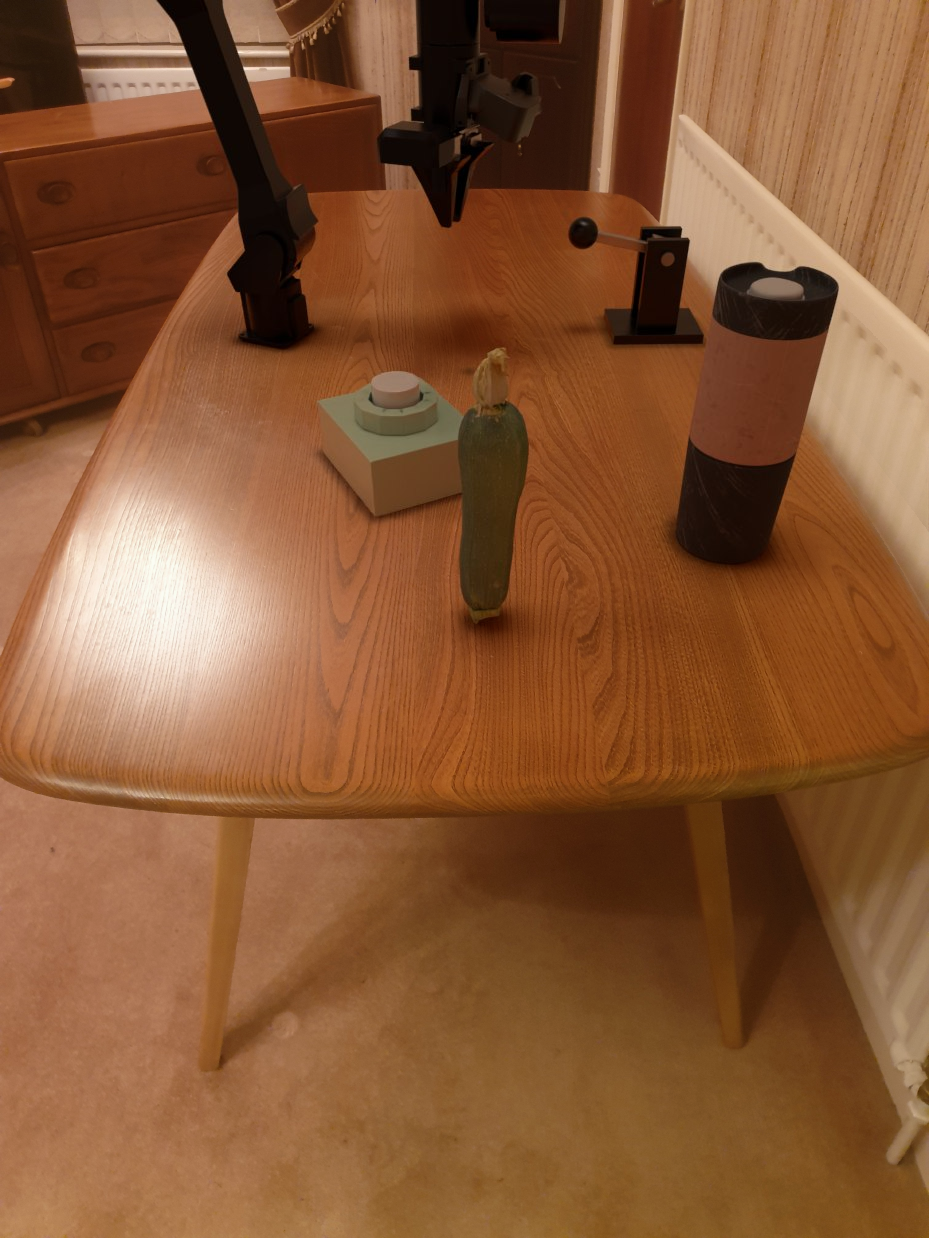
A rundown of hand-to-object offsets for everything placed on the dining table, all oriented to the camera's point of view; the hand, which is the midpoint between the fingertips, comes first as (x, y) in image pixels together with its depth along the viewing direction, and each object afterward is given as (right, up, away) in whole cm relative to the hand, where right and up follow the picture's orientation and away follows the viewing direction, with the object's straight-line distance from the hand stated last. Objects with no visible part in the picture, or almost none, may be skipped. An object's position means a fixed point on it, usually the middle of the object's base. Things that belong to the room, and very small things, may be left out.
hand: (450, 224), depth 88 cm
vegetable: (+3, -40, -27) cm, 48 cm away
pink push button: (-4, -22, -16) cm, 28 cm away
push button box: (-4, -27, -12) cm, 30 cm away
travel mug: (+22, -34, -20) cm, 45 cm away
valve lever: (+18, -1, +6) cm, 19 cm away
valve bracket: (+23, -7, +12) cm, 27 cm away
